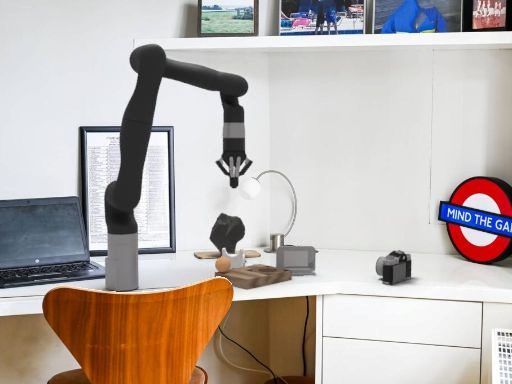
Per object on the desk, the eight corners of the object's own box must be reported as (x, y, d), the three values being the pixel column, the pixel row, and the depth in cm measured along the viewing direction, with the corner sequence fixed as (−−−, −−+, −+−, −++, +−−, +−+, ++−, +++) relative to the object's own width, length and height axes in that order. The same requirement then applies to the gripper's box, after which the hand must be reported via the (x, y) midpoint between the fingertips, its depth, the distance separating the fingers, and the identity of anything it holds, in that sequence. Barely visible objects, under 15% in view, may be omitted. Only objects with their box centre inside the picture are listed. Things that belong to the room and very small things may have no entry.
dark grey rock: (246, 255, 261) (246, 209, 259) (247, 262, 246) (247, 214, 244) (210, 255, 260) (209, 209, 259) (208, 262, 245) (208, 214, 244)
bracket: (242, 270, 233) (242, 249, 232) (222, 270, 233) (222, 249, 232) (244, 263, 246) (244, 243, 245) (225, 263, 246) (225, 243, 245)
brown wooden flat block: (246, 289, 204) (246, 279, 204) (214, 281, 215) (214, 272, 214) (291, 279, 218) (291, 270, 217) (259, 272, 228) (259, 263, 228)
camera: (393, 273, 227) (393, 244, 227) (417, 277, 221) (417, 248, 221) (368, 281, 216) (368, 250, 215) (392, 285, 210) (393, 254, 209)
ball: (233, 267, 211) (218, 271, 210) (231, 273, 216) (216, 276, 214) (229, 253, 213) (214, 256, 212) (227, 258, 218) (212, 261, 216)
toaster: (312, 270, 233) (312, 242, 232) (315, 276, 224) (315, 246, 223) (274, 270, 233) (274, 242, 232) (276, 276, 223) (276, 246, 223)
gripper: (215, 136, 218) (216, 189, 220) (255, 136, 221) (255, 188, 223) (212, 136, 226) (213, 187, 227) (251, 136, 228) (251, 187, 230)
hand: (234, 188), depth 225 cm, fingers closed
